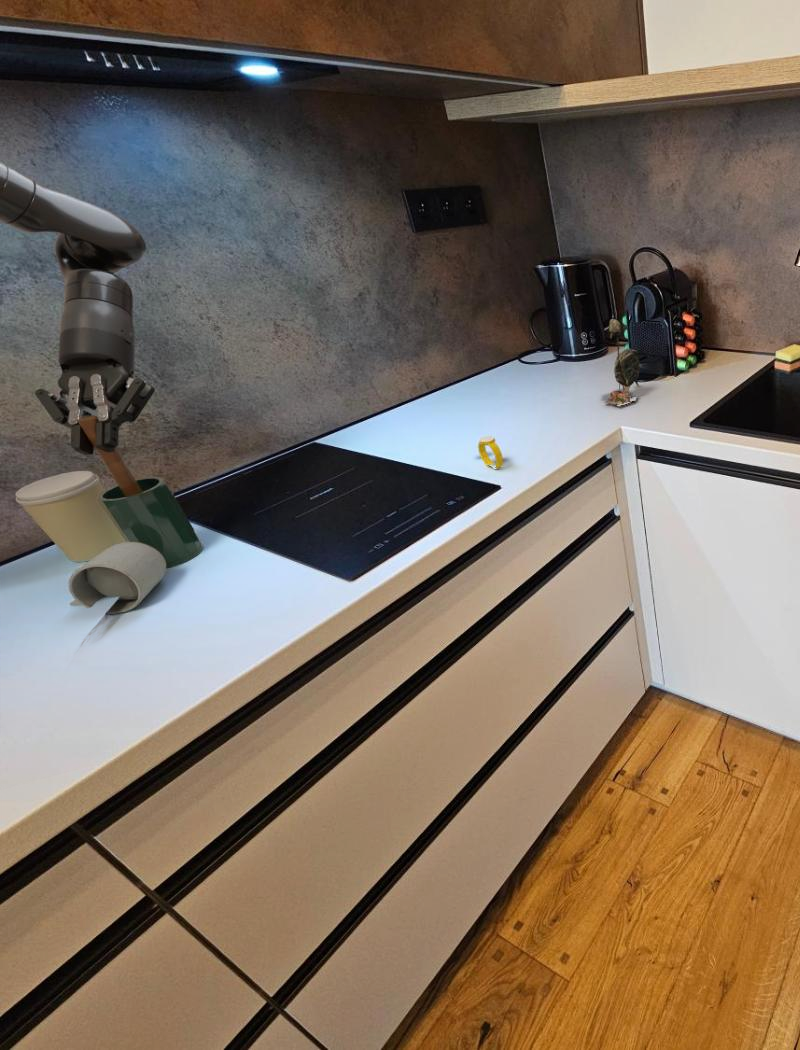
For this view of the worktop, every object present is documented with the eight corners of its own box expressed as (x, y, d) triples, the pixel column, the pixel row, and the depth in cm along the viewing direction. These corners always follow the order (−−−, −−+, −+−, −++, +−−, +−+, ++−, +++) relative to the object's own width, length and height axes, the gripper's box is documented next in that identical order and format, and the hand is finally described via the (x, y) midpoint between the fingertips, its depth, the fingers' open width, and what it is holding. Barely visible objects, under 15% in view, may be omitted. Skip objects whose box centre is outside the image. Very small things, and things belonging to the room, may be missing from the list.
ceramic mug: (180, 574, 87) (151, 530, 83) (153, 606, 80) (120, 560, 76) (98, 590, 85) (64, 546, 81) (62, 625, 78) (23, 579, 74)
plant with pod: (653, 397, 144) (644, 313, 133) (616, 410, 137) (604, 322, 127) (633, 391, 149) (623, 309, 138) (596, 403, 142) (583, 318, 132)
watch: (479, 466, 114) (471, 437, 111) (491, 461, 116) (483, 433, 113) (496, 473, 111) (489, 444, 108) (509, 468, 113) (501, 439, 110)
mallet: (132, 540, 87) (57, 425, 77) (146, 526, 90) (75, 415, 81) (167, 533, 88) (97, 420, 79) (179, 520, 91) (113, 410, 82)
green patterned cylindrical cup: (134, 575, 88) (86, 505, 81) (156, 549, 94) (113, 482, 88) (193, 563, 89) (150, 494, 83) (211, 538, 96) (172, 473, 89)
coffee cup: (136, 527, 101) (95, 464, 94) (139, 547, 94) (95, 481, 88) (64, 550, 95) (15, 484, 89) (61, 572, 89) (9, 504, 83)
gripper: (16, 331, 79) (7, 448, 75) (132, 320, 82) (130, 433, 78) (66, 360, 86) (61, 468, 82) (171, 349, 89) (171, 454, 85)
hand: (94, 450), depth 80 cm, fingers closed on mallet, 2 cm apart
